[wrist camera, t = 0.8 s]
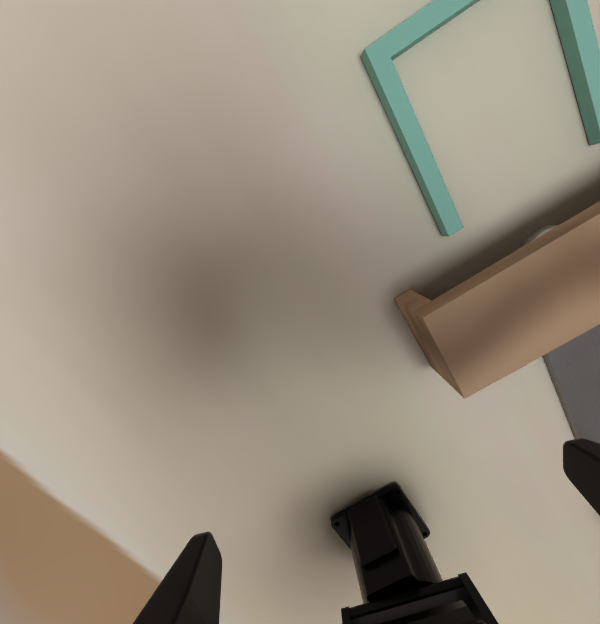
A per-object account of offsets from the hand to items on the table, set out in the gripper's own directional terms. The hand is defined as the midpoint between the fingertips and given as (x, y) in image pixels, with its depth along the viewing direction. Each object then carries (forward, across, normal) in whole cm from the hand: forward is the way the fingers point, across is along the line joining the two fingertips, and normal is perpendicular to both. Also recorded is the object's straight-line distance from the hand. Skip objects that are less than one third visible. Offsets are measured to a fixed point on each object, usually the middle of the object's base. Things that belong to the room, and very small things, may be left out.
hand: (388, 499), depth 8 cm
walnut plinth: (+14, -16, -1) cm, 21 cm away
